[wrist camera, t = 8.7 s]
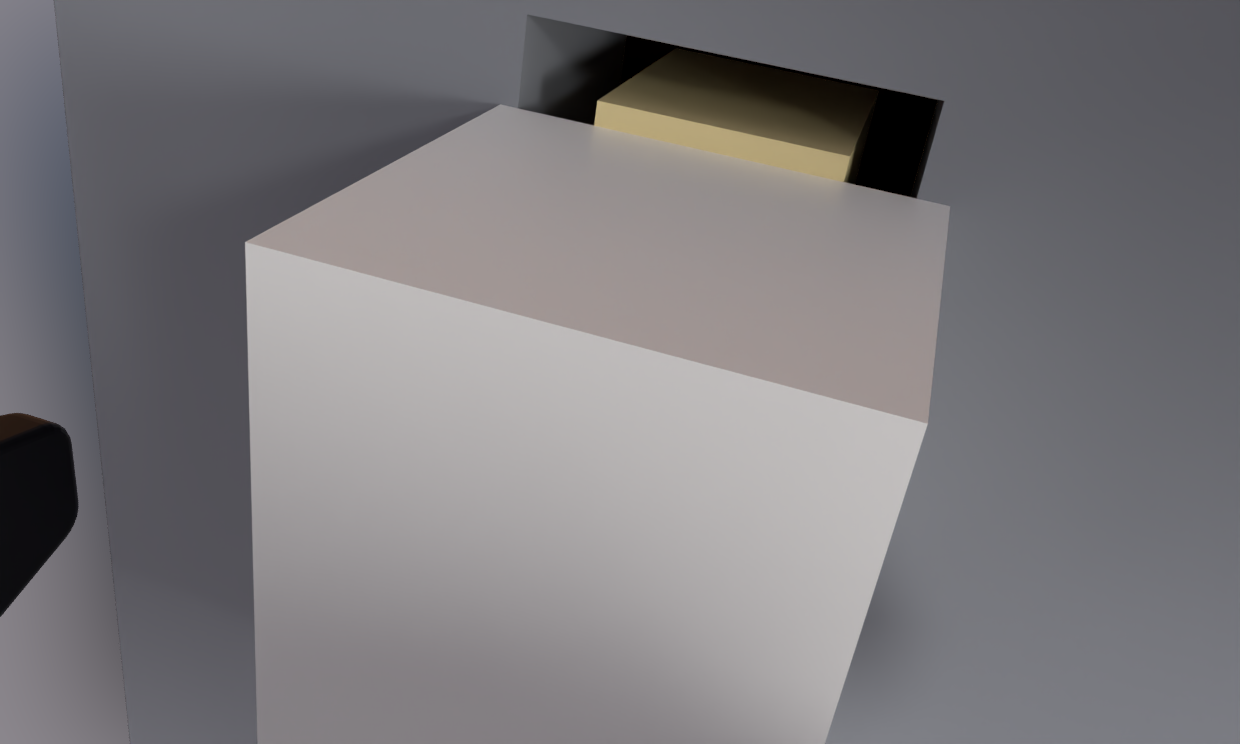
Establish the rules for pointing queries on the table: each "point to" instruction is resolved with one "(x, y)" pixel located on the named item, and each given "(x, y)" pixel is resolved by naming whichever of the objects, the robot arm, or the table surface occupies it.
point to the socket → (964, 356)
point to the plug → (588, 422)
